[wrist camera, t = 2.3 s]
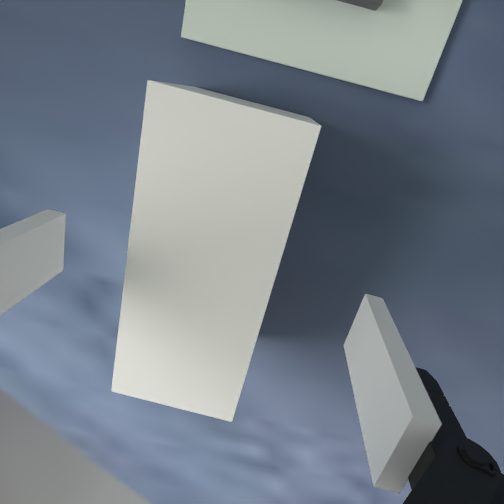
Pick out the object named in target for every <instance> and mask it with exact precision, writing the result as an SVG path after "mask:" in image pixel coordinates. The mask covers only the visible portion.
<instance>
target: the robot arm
mask: <svg viewBox="0 0 504 504" xmlns="http://www.w3.org/2000/svg"><path fill="white" fill-rule="evenodd" d="M65 219H66V213H62V212H58V211H54V210H51V209H47V210H44V211H42V212H40V213H37V214H35V215H33V216H30V217H28V218H25V219H23V220H21V221H18V222H16V223H14V224H11V225H9V226H7V227H4V228H2V229H0V315H2V314H3V313H4V312H6V311H7V310H9V309H10V308H11V307H13V306H14V305H16V304H17V303H18V302H20V301H21V300H22V299H24V298H25V297H27V296H28V295H29V294H31V293H32V292H34V291H35V290H36V289H38V288H39V287H41V286H42V285H43V284H45V283H46V282H48V281H49V280H50V279H52V278H53V277H55V276H56V275H57V274H59V273H60V272H62V271H63V262H64V240H65ZM344 350H345V355H346V359H347V364H348V369H349V374H350V378H351V383H352V388H353V392H354V397H355V402H356V406H357V411H358V416H359V420H360V425H361V430H362V434H363V439H364V444H365V448H366V453H367V458H368V462H369V467H370V472H371V476H372V481H373V486H374V487H378V488H381V489H385V490H389V491H392V492H396V493H400V492H401V491H402V489H403V487H404V486H405V484H406V482H407V481H408V479H409V483H410V486H411V489H412V491H411V493H410V494H409V495H408V497H407V498H406V500H405V501H404V503H403V504H504V475H503V474H502V473H501V471H500V469H499V466H498V464H497V462H496V461H495V460H494V459H493V457H492V456H491V455H490V454H489V453H488V452H487V451H486V450H485V449H484V448H482V447H481V446H480V445H478V444H477V443H475V442H473V441H472V440H470V439H467V437H466V436H465V434H464V432H463V430H462V428H461V426H460V424H459V422H458V420H457V418H456V416H455V415H454V413H453V411H452V409H451V407H450V406H449V403H448V401H447V399H446V397H445V396H443V395H444V394H443V392H442V390H441V388H440V386H439V384H438V382H437V381H436V380H435V379H434V378H433V377H432V376H431V375H430V374H429V373H428V372H427V371H426V370H424V369H420V368H416V367H415V366H414V364H413V362H412V359H411V357H410V355H409V353H408V351H407V349H406V347H405V345H404V342H403V340H402V338H401V336H400V334H399V332H398V330H397V328H396V325H395V323H394V321H393V319H392V317H391V315H390V313H389V311H388V308H387V306H386V304H385V302H384V300H383V298H380V297H376V296H373V295H369V294H365V295H364V298H363V300H362V302H361V305H360V307H359V310H358V312H357V314H356V317H355V319H354V322H353V324H352V326H351V329H350V331H349V334H348V336H347V338H346V341H345V343H344Z"/></svg>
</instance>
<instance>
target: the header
mask: <svg viewBox="0 0 504 504" xmlns="http://www.w3.org/2000/svg"><path fill="white" fill-rule="evenodd" d="M462 1H463V0H186V4H185V11H184V18H183V25H182V32H181V37H182V38H185V39H189V40H192V41H196V42H200V43H204V44H207V45H211V46H215V47H219V48H222V49H226V50H230V51H234V52H237V53H241V54H245V55H249V56H252V57H256V58H260V59H264V60H267V61H271V62H275V63H279V64H282V65H286V66H290V67H294V68H297V69H301V70H305V71H309V72H312V73H316V74H320V75H324V76H327V77H331V78H335V79H339V80H342V81H346V82H350V83H354V84H357V85H361V86H365V87H369V88H372V89H376V90H380V91H384V92H387V93H391V94H395V95H399V96H402V97H406V98H410V99H414V100H417V101H423V99H424V96H425V94H426V91H427V89H428V86H429V84H430V81H431V79H432V76H433V74H434V71H435V69H436V66H437V64H438V61H439V59H440V56H441V54H442V51H443V49H444V46H445V44H446V41H447V39H448V36H449V34H450V31H451V29H452V26H453V24H454V21H455V19H456V16H457V13H458V11H459V8H460V6H461V3H462Z"/></svg>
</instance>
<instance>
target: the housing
mask: <svg viewBox="0 0 504 504" xmlns="http://www.w3.org/2000/svg"><path fill="white" fill-rule="evenodd" d="M320 129H321V125H319V124H318V123H317V122H315V121H314V120H313V119H311V118H310V117H307V116H303V115H299V114H296V113H292V112H288V111H284V110H281V109H277V108H273V107H269V106H266V105H262V104H258V103H254V102H250V101H247V100H243V99H239V98H235V97H232V96H228V95H224V94H220V93H217V92H213V91H209V90H205V89H201V88H198V87H192V86H186V85H179V84H172V83H165V82H158V81H152V80H148V82H147V90H146V99H145V107H144V116H143V124H142V133H141V142H140V150H139V159H138V167H137V176H136V184H135V193H134V201H133V210H132V219H131V227H130V236H129V244H128V253H127V261H126V270H125V278H124V287H123V296H122V304H121V313H120V321H119V330H118V338H117V347H116V356H115V364H114V373H113V381H112V390H111V391H112V392H116V393H120V394H124V395H128V396H132V397H136V398H140V399H144V400H148V401H152V402H156V403H160V404H163V405H167V406H171V407H175V408H179V409H183V410H187V411H191V412H195V413H199V414H203V415H207V416H211V417H215V418H219V419H223V420H226V421H230V422H232V419H233V416H234V413H235V409H236V406H237V403H238V400H239V396H240V393H241V390H242V386H243V383H244V380H245V376H246V373H247V370H248V367H249V363H250V360H251V357H252V353H253V350H254V347H255V343H256V340H257V337H258V334H259V330H260V327H261V324H262V320H263V317H264V314H265V310H266V307H267V304H268V301H269V297H270V294H271V291H272V287H273V284H274V281H275V277H276V274H277V271H278V268H279V264H280V261H281V258H282V254H283V251H284V248H285V244H286V241H287V238H288V235H289V231H290V228H291V225H292V221H293V218H294V215H295V211H296V208H297V205H298V202H299V198H300V195H301V192H302V188H303V185H304V182H305V178H306V175H307V172H308V168H309V165H310V162H311V159H312V155H313V152H314V149H315V145H316V142H317V139H318V135H319V132H320Z"/></svg>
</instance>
